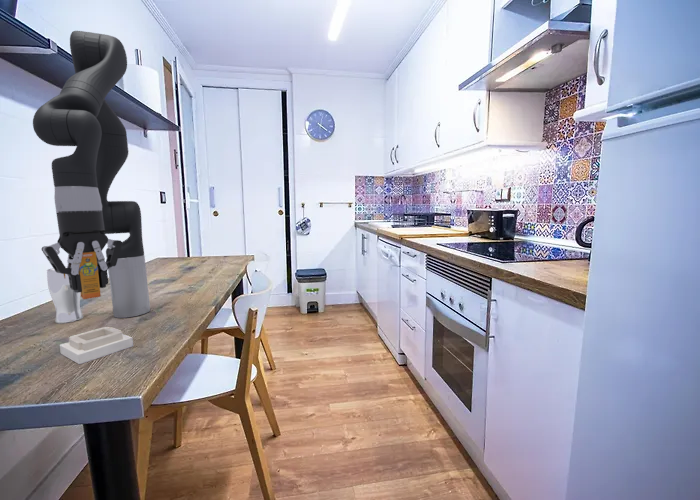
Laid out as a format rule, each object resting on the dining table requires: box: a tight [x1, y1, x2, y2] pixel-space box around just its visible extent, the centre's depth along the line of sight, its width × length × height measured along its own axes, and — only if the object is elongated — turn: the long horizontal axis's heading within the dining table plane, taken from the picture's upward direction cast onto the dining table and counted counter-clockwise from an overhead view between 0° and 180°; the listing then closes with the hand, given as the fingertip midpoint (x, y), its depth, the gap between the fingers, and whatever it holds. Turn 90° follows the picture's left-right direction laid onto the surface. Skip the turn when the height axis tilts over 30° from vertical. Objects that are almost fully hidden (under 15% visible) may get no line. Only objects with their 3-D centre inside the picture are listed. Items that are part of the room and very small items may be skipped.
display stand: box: [59, 326, 134, 365], centre depth 73 cm, size 10×10×4 cm
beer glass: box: [46, 266, 84, 325], centre depth 93 cm, size 7×7×15 cm
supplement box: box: [78, 251, 102, 300], centre depth 71 cm, size 3×3×10 cm
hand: (90, 289), depth 71 cm, fingers closed on supplement box, 3 cm apart
